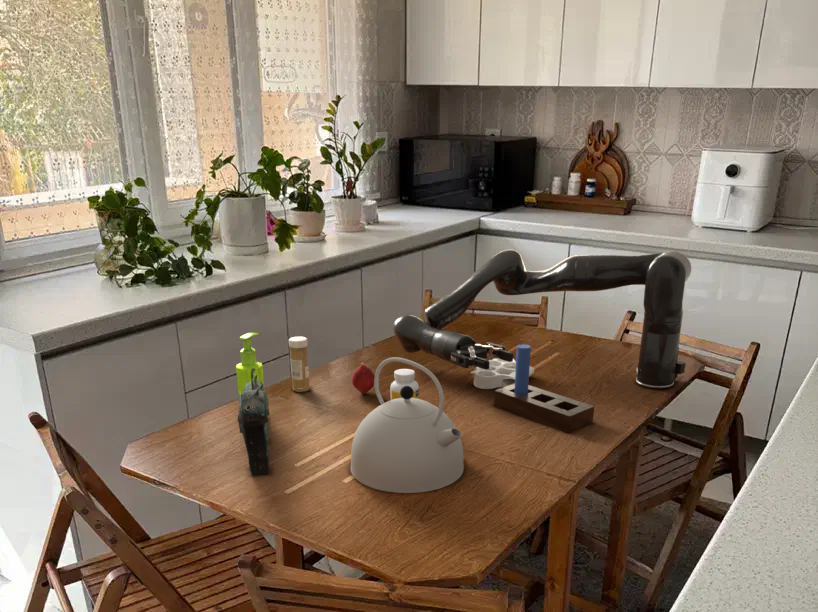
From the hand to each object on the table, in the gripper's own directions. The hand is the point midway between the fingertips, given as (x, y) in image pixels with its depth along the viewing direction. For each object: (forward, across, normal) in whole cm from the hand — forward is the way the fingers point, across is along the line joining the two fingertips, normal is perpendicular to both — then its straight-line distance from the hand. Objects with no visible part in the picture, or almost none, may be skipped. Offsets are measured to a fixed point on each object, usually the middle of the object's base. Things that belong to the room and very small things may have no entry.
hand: (500, 361), depth 188 cm
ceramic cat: (-11, -62, +10) cm, 64 cm away
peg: (+7, 0, +10) cm, 12 cm away
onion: (-26, -22, +10) cm, 35 cm away
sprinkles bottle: (-39, -32, +10) cm, 51 cm away
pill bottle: (-6, -26, +10) cm, 28 cm away
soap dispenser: (-30, -51, +10) cm, 60 cm away
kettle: (+14, -42, +10) cm, 46 cm away
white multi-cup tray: (-9, +11, +10) cm, 17 cm away
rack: (+14, 0, +10) cm, 17 cm away
